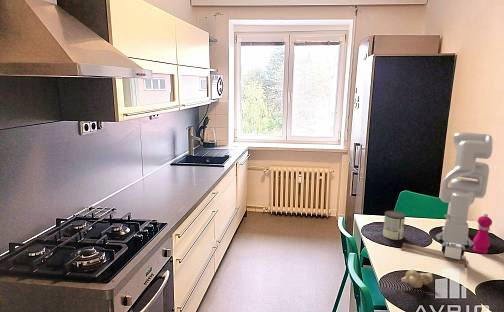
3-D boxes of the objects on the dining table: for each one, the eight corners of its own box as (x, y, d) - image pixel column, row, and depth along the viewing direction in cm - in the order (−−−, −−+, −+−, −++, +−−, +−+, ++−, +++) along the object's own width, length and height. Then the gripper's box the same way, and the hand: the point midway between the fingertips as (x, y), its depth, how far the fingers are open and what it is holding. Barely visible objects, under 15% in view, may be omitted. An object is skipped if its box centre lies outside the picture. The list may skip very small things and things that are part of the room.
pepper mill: (491, 255, 172) (497, 216, 169) (475, 253, 174) (481, 215, 170) (484, 248, 179) (490, 212, 176) (469, 247, 181) (475, 210, 177)
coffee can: (382, 233, 195) (384, 209, 193) (401, 236, 192) (404, 212, 190) (382, 240, 186) (385, 215, 183) (403, 243, 183) (406, 218, 180)
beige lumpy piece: (435, 273, 141) (415, 270, 136) (434, 291, 139) (413, 289, 135) (418, 269, 148) (398, 266, 143) (417, 287, 147) (396, 284, 142)
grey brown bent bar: (402, 245, 180) (403, 242, 180) (465, 259, 167) (465, 256, 167) (400, 253, 171) (400, 250, 171) (466, 268, 158) (466, 265, 158)
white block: (460, 259, 161) (461, 249, 160) (444, 256, 164) (445, 246, 163) (459, 254, 166) (461, 244, 165) (444, 251, 169) (445, 241, 168)
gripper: (436, 217, 162) (431, 253, 166) (479, 225, 154) (474, 262, 158) (436, 213, 169) (432, 247, 172) (478, 220, 161) (472, 256, 164)
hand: (452, 254), depth 165 cm, fingers closed on white block, 6 cm apart
